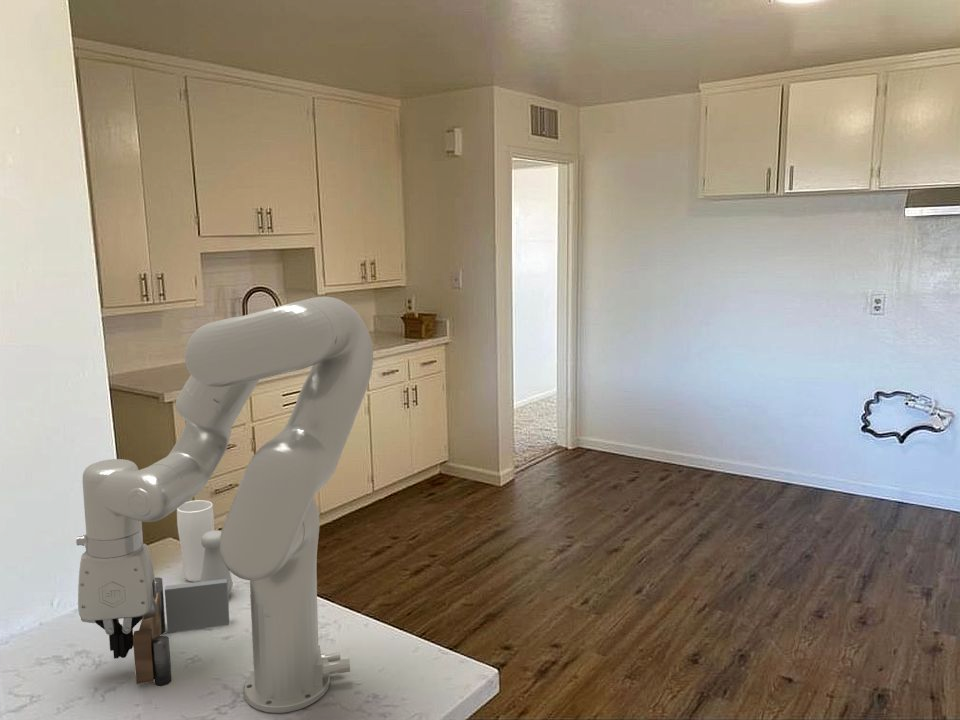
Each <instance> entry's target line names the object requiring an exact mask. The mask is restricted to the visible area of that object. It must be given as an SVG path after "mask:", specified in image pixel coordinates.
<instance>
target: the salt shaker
mask: <svg viewBox="0 0 960 720" xmlns="http://www.w3.org/2000/svg"><path fill="white" fill-rule="evenodd" d="M221 532H222V530H218V529H217V530H215V529H214V531H209V532H206V533H205V534H204V535H203V536H202V538H201V543H202V546H203V547H204V548H205V552H204V560H203V568H202V575H201V581H200V582H203V581H211V580H220V579H227V585H228V597H229V596H230V594H231V591H232V588H233V584H234V582H233V579H232V575H231V573H230V570H229V569H228V568H227V567H226V565H225V564H224V562H223V559H222V556H221V552H220V536H221Z"/></svg>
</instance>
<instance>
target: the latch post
mask: <svg viewBox="0 0 960 720" xmlns="http://www.w3.org/2000/svg"><path fill="white" fill-rule="evenodd" d="M170 649H171V648H170V637H169V636H168V635H164V634H162V635H160V636H158V637H155V638H154V639H153V640H152V654H153V667H154V686H155V687H164V686H168V685H169V684H171V682H172V680H173V679H172V677H173V676H172V665H171V664H172V663H171V651H170Z"/></svg>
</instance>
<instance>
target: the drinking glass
mask: <svg viewBox="0 0 960 720" xmlns="http://www.w3.org/2000/svg"><path fill="white" fill-rule="evenodd" d="M214 515H215V514H214V506H213V502H211V501H210V500H202V499H197V500H196V499H195V500H191V501H189V500H188V501H187V502H185V503H184V504H182V505H181V506H179V507H178V508H177V509H176V525H177V532H178V533H177V534H178V539H179V544H180V550H181V557H182V563H183V571H184V572H183V573H184V578H185V580H186V581H187V582H190V583H194V582H201V575H202V568H203V560H204V552H205V548H204V547H203V546H202V543H201V538H202V536H203V535H204V534H205V533H206V532H209V531H214V530H215V516H214Z"/></svg>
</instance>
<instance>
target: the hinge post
mask: <svg viewBox="0 0 960 720" xmlns="http://www.w3.org/2000/svg"><path fill="white" fill-rule="evenodd" d="M155 584H156V593H159V601H160V616H161V630H162V631H161V635H160V636H162V635H164V634H165V633H166V631H167V626H166V616H165V614H166V613H165V601H164V600H165V599H164V588H163V585H164V584H163V578H162V577H155Z"/></svg>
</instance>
